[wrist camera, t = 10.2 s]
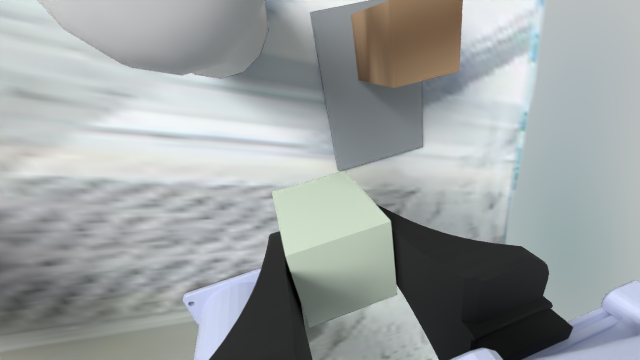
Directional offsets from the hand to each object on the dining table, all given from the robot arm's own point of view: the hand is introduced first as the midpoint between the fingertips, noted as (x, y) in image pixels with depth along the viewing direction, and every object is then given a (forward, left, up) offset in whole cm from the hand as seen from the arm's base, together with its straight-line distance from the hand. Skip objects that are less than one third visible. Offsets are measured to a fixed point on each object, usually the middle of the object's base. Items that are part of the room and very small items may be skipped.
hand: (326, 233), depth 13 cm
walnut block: (+8, -8, -8) cm, 14 cm away
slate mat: (+5, -7, -8) cm, 12 cm away
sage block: (0, 0, -2) cm, 2 cm away
